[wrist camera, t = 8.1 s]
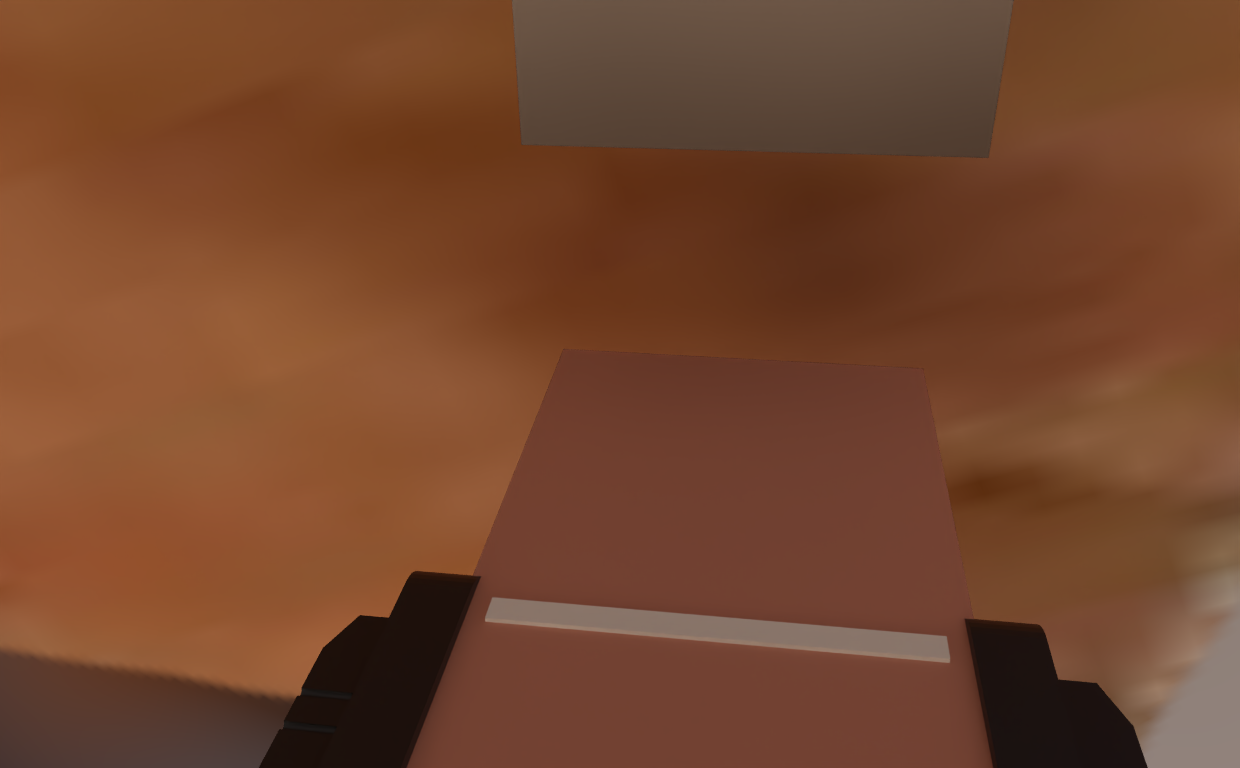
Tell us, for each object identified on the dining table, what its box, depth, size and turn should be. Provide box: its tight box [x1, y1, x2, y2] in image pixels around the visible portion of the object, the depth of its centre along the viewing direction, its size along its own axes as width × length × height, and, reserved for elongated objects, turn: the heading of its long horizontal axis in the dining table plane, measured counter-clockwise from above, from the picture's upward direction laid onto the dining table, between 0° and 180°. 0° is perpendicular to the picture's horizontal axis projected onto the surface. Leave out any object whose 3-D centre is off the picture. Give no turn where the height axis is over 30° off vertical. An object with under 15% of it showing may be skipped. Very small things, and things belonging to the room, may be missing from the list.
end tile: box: [407, 349, 993, 768], centre depth 11 cm, size 2×5×11 cm, turn 91°
